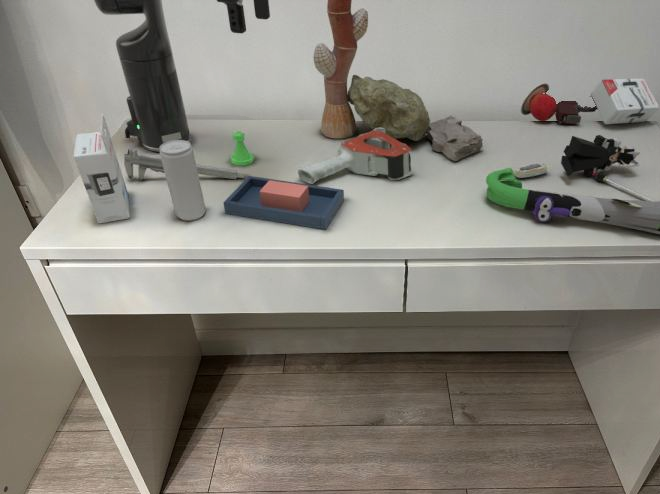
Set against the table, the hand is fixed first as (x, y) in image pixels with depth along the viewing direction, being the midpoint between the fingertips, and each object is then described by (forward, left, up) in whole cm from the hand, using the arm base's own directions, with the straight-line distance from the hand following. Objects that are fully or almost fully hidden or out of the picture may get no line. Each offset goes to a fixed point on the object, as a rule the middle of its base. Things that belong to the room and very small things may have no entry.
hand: (251, 25), depth 84 cm
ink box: (+59, +44, -21) cm, 77 cm away
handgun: (+62, +43, -25) cm, 80 cm away
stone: (+30, +23, -26) cm, 46 cm away
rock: (+22, +29, -19) cm, 41 cm away
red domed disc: (+44, +44, -22) cm, 67 cm away
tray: (+7, -9, -26) cm, 28 cm away
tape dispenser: (+15, +8, -26) cm, 31 cm away
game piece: (-8, +5, -26) cm, 28 cm away
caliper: (-14, -5, -26) cm, 30 cm away
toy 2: (+55, +9, -22) cm, 59 cm away
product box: (-21, -17, -26) cm, 38 cm away
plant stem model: (+7, +23, -26) cm, 36 cm away
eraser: (+7, -9, -26) cm, 28 cm away
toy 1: (+69, +3, -23) cm, 73 cm away
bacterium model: (+46, +11, -25) cm, 54 cm away
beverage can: (-7, -15, -26) cm, 31 cm away
